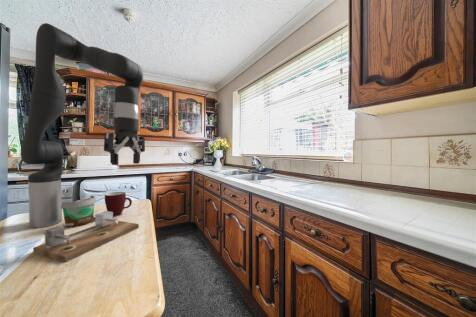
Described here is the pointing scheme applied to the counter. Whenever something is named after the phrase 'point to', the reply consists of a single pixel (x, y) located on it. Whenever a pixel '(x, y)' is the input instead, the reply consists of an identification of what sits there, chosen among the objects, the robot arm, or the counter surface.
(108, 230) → the hole board
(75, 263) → the counter surface
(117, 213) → the mug
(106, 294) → the counter surface
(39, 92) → the robot arm
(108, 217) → the leg
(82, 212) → the food container
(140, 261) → the counter surface
